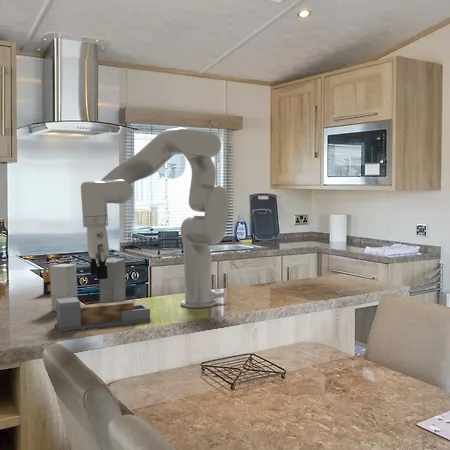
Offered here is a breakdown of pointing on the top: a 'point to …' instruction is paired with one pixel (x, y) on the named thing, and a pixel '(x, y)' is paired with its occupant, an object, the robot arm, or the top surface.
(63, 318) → the endcap board
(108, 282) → the skincare box
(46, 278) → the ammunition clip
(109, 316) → the slat
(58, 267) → the skincare box
